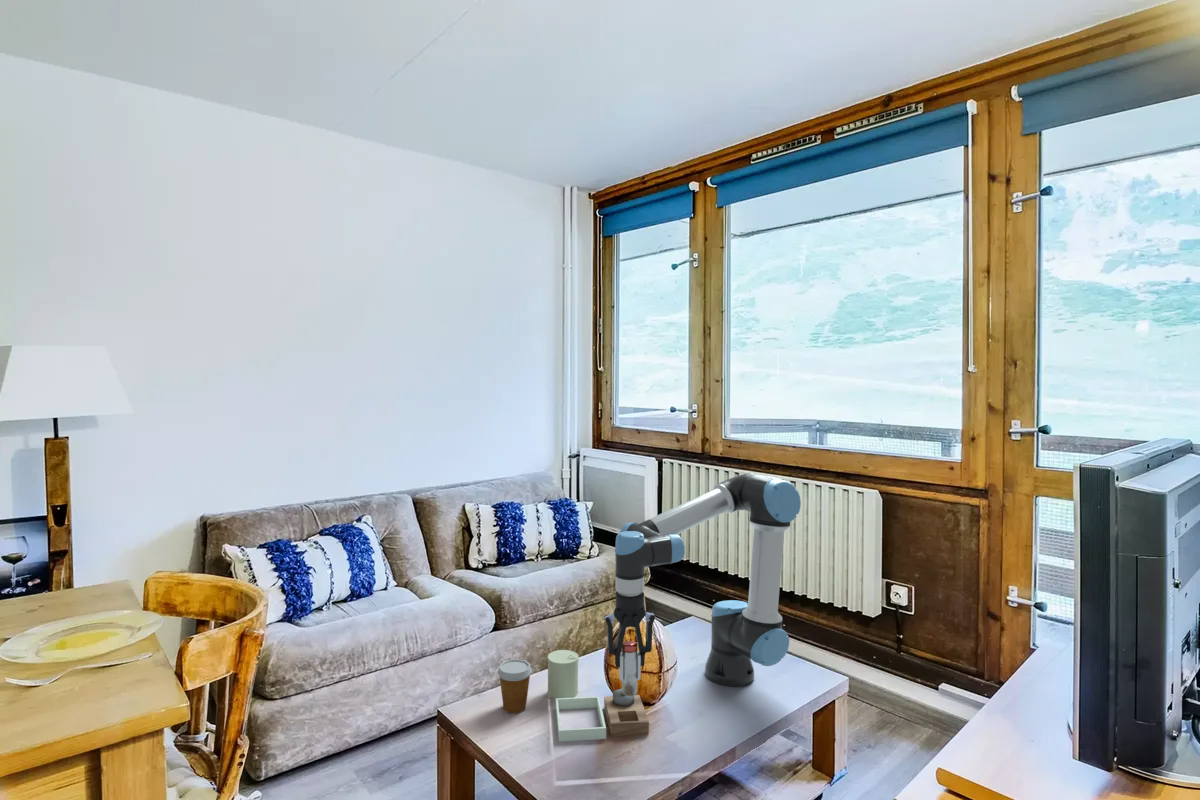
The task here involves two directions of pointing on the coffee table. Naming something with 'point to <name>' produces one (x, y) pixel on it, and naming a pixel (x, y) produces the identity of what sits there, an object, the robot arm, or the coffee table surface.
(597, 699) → the tray
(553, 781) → the coffee table surface
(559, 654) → the can
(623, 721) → the socket block
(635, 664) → the red capped bottle
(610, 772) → the coffee table surface
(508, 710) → the disposable coffee cup
